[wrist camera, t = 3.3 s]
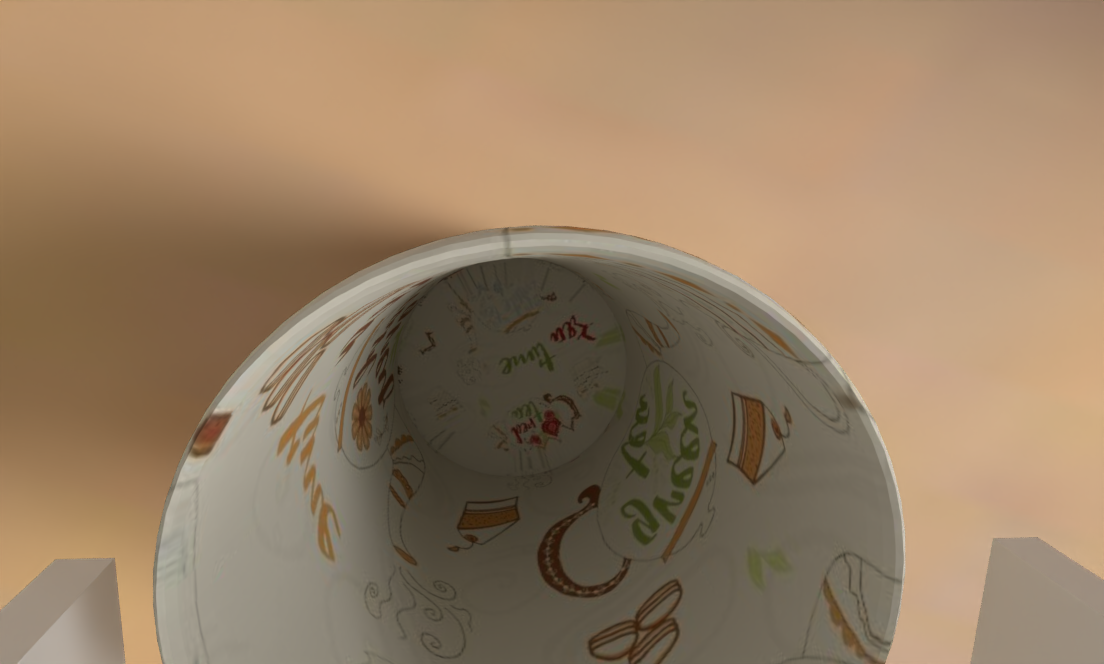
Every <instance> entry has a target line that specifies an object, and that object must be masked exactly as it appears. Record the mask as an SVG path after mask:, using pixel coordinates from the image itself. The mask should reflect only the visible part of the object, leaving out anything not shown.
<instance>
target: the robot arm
mask: <svg viewBox="0 0 1104 664" xmlns="http://www.w3.org/2000/svg"><path fill="white" fill-rule="evenodd" d="M0 664H126V663H125V654H124V644H123V634H122V624H121V615H120V605H119V595H118V585H117V576H116V566H115V558H93V559H55V560H54V561H53V562H52V563H51V564H50V565H49V566H48V567H47V568H46V569H44V570H43V571H42V572H41V573H40V574H39V575H38V576H37V577H36V578H35V579H34V580H33V581H32V582H30V583H29V584H28V585H27V586H26V587H25V588H24V589H23V590H22V591H21V592H20V593H19V594H18V595H16V596H15V597H14V598H13V599H12V600H11V601H10V602H9V603H8V604H7V605H6V606H5V607H4V608H2V609H1V610H0ZM971 664H1104V580H1103V579H1101V578H1100V577H1098V576H1097V575H1095V574H1093V573H1092V572H1090V571H1089V570H1087V569H1086V568H1084V567H1083V566H1081V565H1079V564H1078V563H1076V562H1075V561H1073V560H1072V559H1070V558H1069V557H1067V556H1066V555H1064V554H1062V553H1061V552H1059V551H1058V550H1056V549H1055V548H1053V547H1052V546H1050V545H1049V544H1047V543H1045V542H1044V541H1042V540H1041V539H1039V538H1038V537H1029V538H993V541H992V547H991V553H990V558H989V564H988V569H987V575H986V580H985V586H984V592H983V597H982V603H981V608H980V614H979V619H978V625H977V631H976V636H975V642H974V647H973V653H972V658H971Z"/></svg>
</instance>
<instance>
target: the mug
mask: <svg viewBox="0 0 1104 664" xmlns="http://www.w3.org/2000/svg"><path fill="white" fill-rule="evenodd" d="M904 578H905V529H904V521H903V513H902V505H901V498H900V494H899V490H898V486H897V482H896V478H895V474H894V470H893V466H892V462H891V459H890V456H889V454H888V451H887V449H886V447H885V444H884V442H883V439H882V437H881V434H880V432H879V429H878V427H877V424H876V422H875V420H874V418H873V417H872V415H871V413H870V411H869V409H868V408H867V406H866V404H865V402H864V400H863V399H862V397H861V395H860V393H859V392H858V390H857V389H856V387H855V386H854V385H853V383H852V382H851V380H850V379H849V378H848V376H847V375H846V373H845V372H844V370H843V369H842V368H841V366H840V365H839V364H838V363H837V361H836V360H835V359H834V358H833V357H832V355H831V354H830V353H829V352H828V350H827V349H826V348H825V347H824V346H823V344H822V343H821V342H820V341H819V340H818V339H817V338H816V337H815V336H814V335H813V334H812V333H811V332H810V331H809V330H808V329H807V328H806V327H805V326H804V325H803V324H802V323H801V322H799V321H798V320H797V319H796V318H795V317H794V316H793V315H791V314H790V313H789V312H788V311H786V310H785V309H784V308H783V307H781V306H780V305H779V304H778V303H776V302H775V301H774V300H773V299H771V298H770V297H769V296H767V295H766V294H764V293H762V292H761V291H759V290H758V289H756V288H755V287H753V286H752V285H750V284H748V283H747V282H745V281H744V280H742V279H741V278H739V277H737V276H735V275H733V274H731V273H729V272H727V271H725V270H723V269H721V268H719V267H717V266H715V265H713V264H711V263H709V262H707V261H705V260H703V259H701V258H699V257H696V256H694V255H691V254H688V253H686V252H683V251H680V250H678V249H675V248H673V247H670V246H667V245H665V244H661V243H658V242H654V241H651V240H647V239H643V238H640V237H636V236H631V235H626V234H621V233H616V232H612V231H606V230H597V229H588V228H578V227H569V226H522V227H508V228H497V229H489V230H482V231H476V232H471V233H467V234H462V235H458V236H453V237H449V238H445V239H440V240H437V241H434V242H431V243H427V244H424V245H421V246H418V247H416V248H413V249H410V250H407V251H404V252H402V253H399V254H396V255H393V256H391V257H389V258H387V259H385V260H382V261H380V262H378V263H376V264H374V265H372V266H370V267H367V268H365V269H363V270H361V271H359V272H357V273H355V274H353V275H352V276H350V277H348V278H347V279H345V280H343V281H342V282H340V283H338V284H337V285H335V286H333V287H331V288H330V289H328V290H326V291H325V292H323V293H322V294H320V295H319V296H318V297H316V298H315V299H314V300H312V301H311V302H309V303H308V304H307V305H305V306H304V307H303V308H301V309H300V310H299V311H297V312H296V313H295V314H293V315H292V316H291V317H289V318H288V319H287V320H286V321H285V322H283V323H282V324H281V325H280V326H279V327H278V328H277V329H276V330H275V331H274V332H273V333H271V334H270V335H269V336H268V337H267V338H266V339H265V340H264V341H263V342H262V343H261V344H260V345H258V346H257V347H256V348H255V349H254V350H253V351H252V352H251V354H250V355H249V356H248V357H247V358H246V359H245V360H244V362H243V363H242V364H241V365H240V366H239V367H238V368H237V370H236V371H235V372H234V373H233V374H232V375H231V376H230V378H229V379H228V380H227V381H226V383H225V384H224V386H223V387H222V389H221V390H220V391H219V393H218V394H217V396H216V397H215V399H214V400H213V401H212V403H211V404H210V406H209V407H208V409H207V410H206V412H205V413H204V415H203V417H202V419H201V421H200V423H199V424H198V426H197V428H196V430H195V432H194V433H193V435H192V437H191V439H190V441H189V443H188V444H187V447H186V449H185V451H184V453H183V456H182V458H181V460H180V462H179V465H178V467H177V470H176V473H175V476H174V478H173V481H172V484H171V487H170V490H169V492H168V495H167V498H166V501H165V505H164V509H163V514H162V518H161V522H160V527H159V531H158V535H157V543H156V552H155V561H154V569H153V608H154V617H155V625H156V634H157V642H158V646H159V650H160V654H161V659H162V663H163V664H885V662H886V659H887V656H888V653H889V651H890V648H891V645H892V642H893V638H894V634H895V630H896V626H897V622H898V618H899V614H900V608H901V600H902V593H903V585H904Z"/></svg>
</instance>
